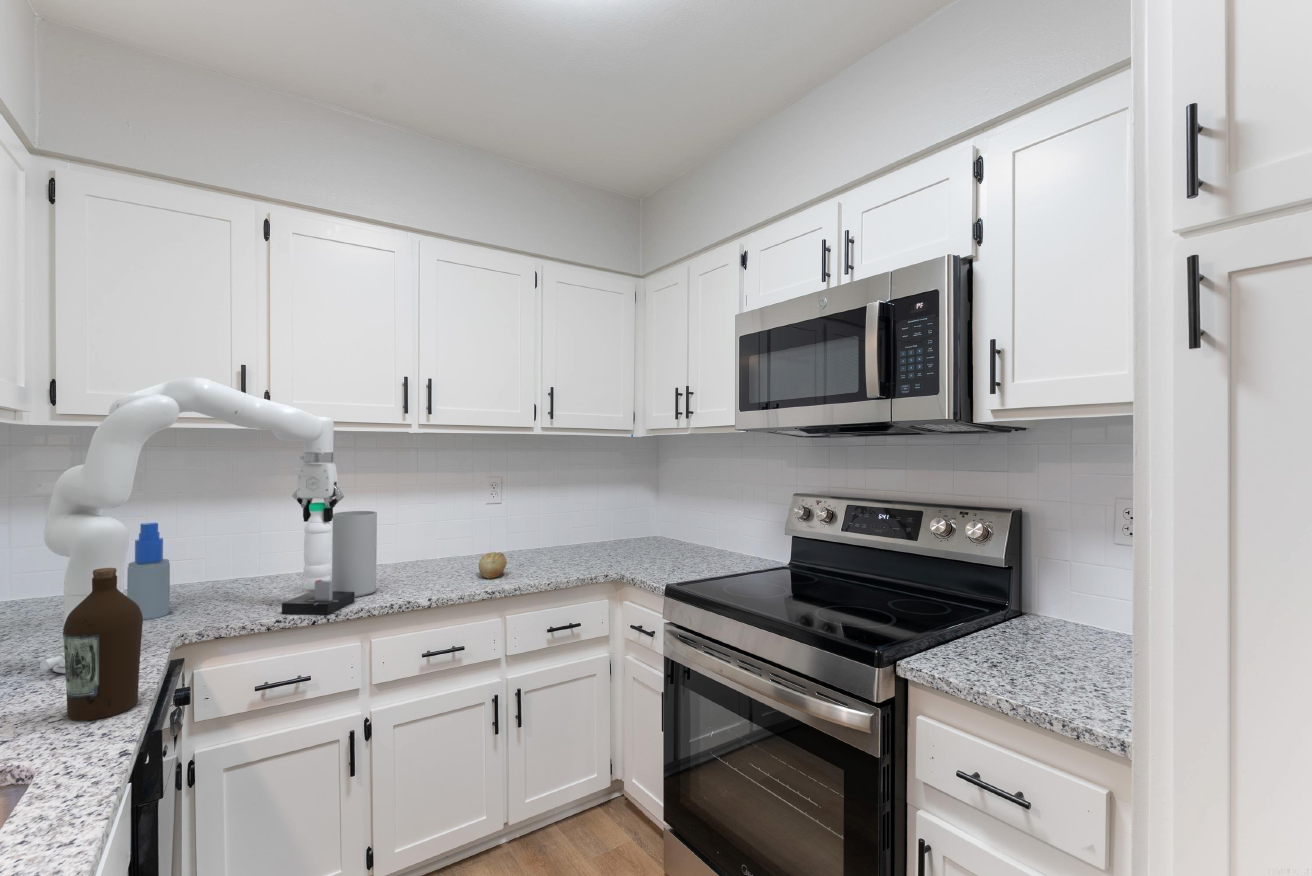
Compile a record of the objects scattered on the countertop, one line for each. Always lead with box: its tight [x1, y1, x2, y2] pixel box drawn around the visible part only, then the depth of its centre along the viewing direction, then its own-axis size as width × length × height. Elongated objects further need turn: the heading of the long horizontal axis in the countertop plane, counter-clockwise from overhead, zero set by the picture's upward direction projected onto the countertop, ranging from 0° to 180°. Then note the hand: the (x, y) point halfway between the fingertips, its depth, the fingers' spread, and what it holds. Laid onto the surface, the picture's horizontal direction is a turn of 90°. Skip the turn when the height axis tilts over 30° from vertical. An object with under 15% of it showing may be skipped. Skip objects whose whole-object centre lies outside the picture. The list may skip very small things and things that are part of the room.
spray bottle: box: [126, 522, 171, 621], centre depth 169 cm, size 9×9×25 cm
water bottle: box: [302, 501, 333, 592], centre depth 181 cm, size 7×7×25 cm
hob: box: [281, 591, 356, 616], centre depth 178 cm, size 15×14×3 cm
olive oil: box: [62, 568, 144, 722], centre depth 111 cm, size 11×11×25 cm
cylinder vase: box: [331, 510, 378, 598], centre depth 195 cm, size 12×12×25 cm
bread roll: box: [478, 551, 508, 580], centre depth 223 cm, size 10×15×8 cm, turn 10°
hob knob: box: [315, 580, 333, 602], centre depth 174 cm, size 4×2×6 cm, turn 86°
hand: (317, 520), depth 181 cm, fingers closed on water bottle, 5 cm apart
